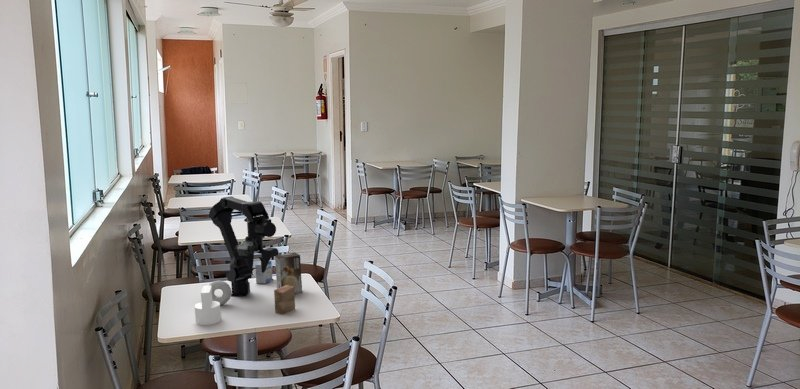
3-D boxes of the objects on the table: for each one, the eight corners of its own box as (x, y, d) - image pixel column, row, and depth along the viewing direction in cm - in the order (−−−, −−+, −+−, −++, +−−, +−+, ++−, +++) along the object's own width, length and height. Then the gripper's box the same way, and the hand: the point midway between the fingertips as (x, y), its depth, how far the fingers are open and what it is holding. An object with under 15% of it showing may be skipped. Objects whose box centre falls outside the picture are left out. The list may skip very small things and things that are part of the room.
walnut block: (275, 312, 235) (274, 290, 234) (286, 307, 241) (286, 285, 240) (283, 314, 233) (282, 291, 232) (295, 309, 239) (294, 286, 238)
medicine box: (265, 284, 272) (264, 265, 270) (255, 283, 272) (254, 264, 271) (272, 278, 279) (271, 260, 278) (263, 278, 280) (262, 259, 279)
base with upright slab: (220, 323, 225) (218, 291, 223) (194, 325, 223) (192, 293, 221) (221, 315, 233) (220, 284, 231) (196, 317, 231) (194, 286, 229)
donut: (232, 302, 247) (231, 278, 246) (232, 305, 244) (230, 281, 243) (206, 304, 246) (205, 280, 244) (205, 307, 242) (204, 282, 241)
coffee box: (297, 288, 265) (295, 251, 262) (302, 292, 259) (301, 255, 257) (276, 291, 261) (274, 254, 258) (281, 295, 255) (279, 258, 253)
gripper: (222, 235, 243) (225, 273, 245) (259, 240, 234) (261, 279, 237) (242, 229, 253) (244, 266, 255) (278, 234, 244) (280, 272, 246)
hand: (257, 271), depth 248 cm, fingers open, 6 cm apart
